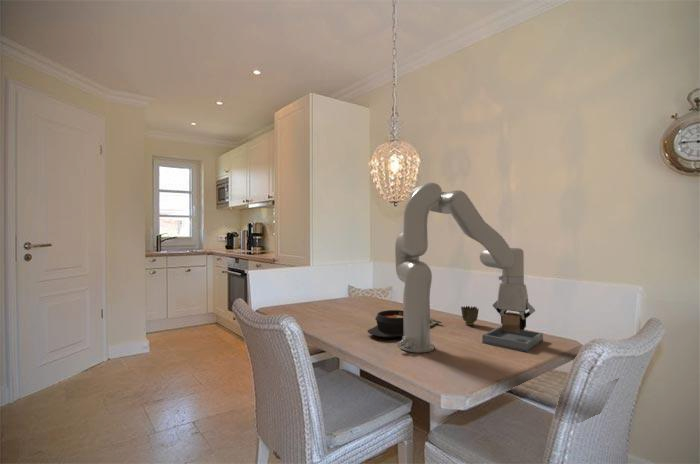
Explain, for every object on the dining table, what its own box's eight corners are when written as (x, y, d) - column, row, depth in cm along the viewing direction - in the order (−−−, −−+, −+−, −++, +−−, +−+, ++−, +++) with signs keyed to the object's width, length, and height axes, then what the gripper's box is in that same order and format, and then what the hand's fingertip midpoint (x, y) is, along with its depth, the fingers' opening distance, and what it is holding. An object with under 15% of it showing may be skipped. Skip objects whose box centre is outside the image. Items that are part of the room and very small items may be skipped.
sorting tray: (527, 352, 127) (527, 343, 127) (482, 342, 138) (482, 334, 138) (542, 341, 140) (542, 333, 140) (500, 333, 151) (500, 325, 151)
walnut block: (518, 333, 135) (518, 316, 135) (502, 330, 139) (502, 314, 139) (524, 329, 139) (524, 314, 139) (508, 327, 143) (508, 311, 143)
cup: (480, 327, 160) (480, 309, 160) (464, 327, 160) (464, 309, 160) (475, 323, 167) (475, 305, 167) (459, 323, 167) (459, 305, 167)
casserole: (402, 324, 165) (402, 306, 165) (433, 334, 150) (433, 313, 150) (357, 334, 150) (357, 313, 150) (387, 345, 135) (387, 322, 135)
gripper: (486, 279, 142) (487, 325, 142) (534, 283, 130) (534, 333, 130) (494, 277, 148) (494, 321, 148) (540, 281, 136) (540, 329, 136)
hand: (513, 327), depth 139 cm, fingers closed on walnut block, 6 cm apart
